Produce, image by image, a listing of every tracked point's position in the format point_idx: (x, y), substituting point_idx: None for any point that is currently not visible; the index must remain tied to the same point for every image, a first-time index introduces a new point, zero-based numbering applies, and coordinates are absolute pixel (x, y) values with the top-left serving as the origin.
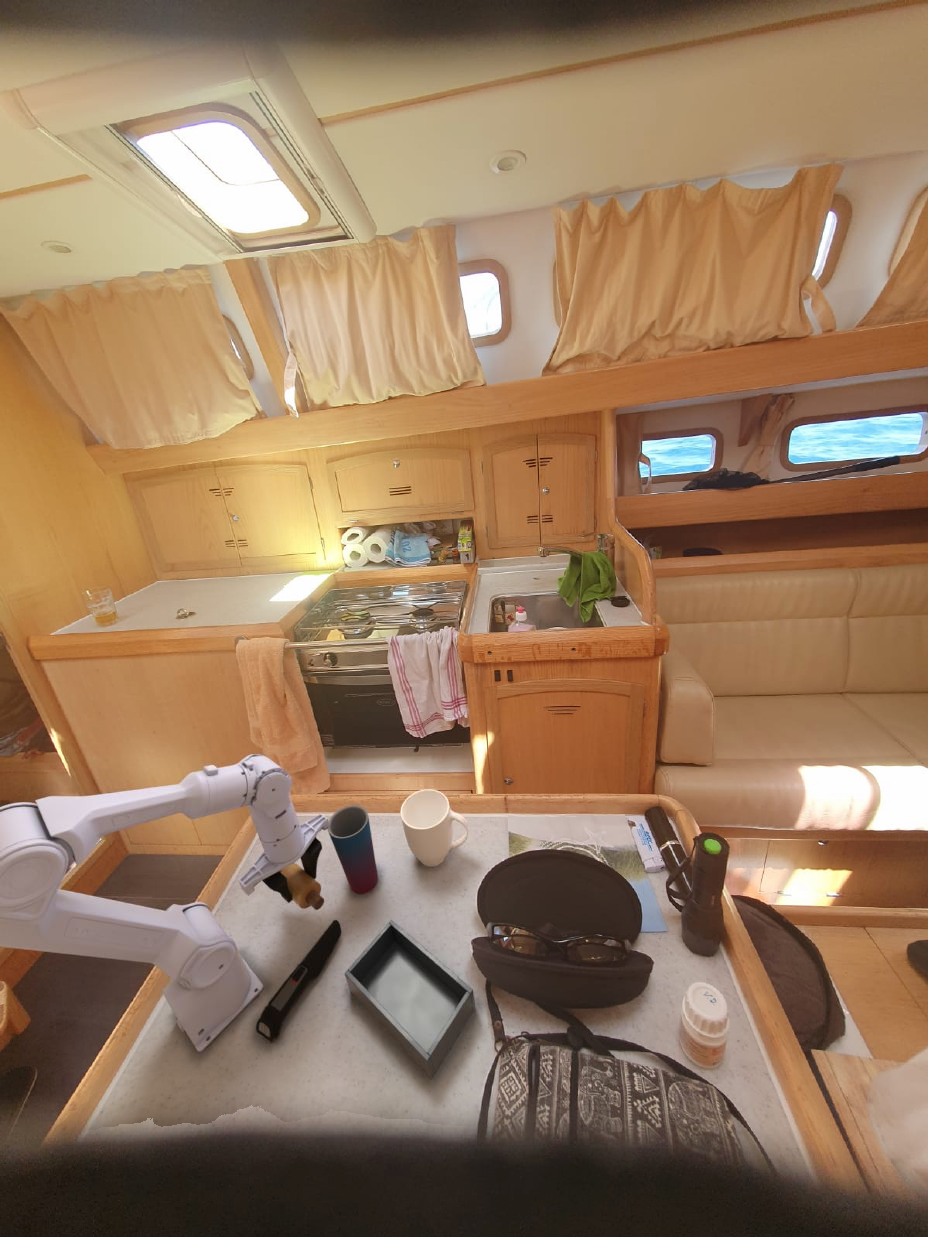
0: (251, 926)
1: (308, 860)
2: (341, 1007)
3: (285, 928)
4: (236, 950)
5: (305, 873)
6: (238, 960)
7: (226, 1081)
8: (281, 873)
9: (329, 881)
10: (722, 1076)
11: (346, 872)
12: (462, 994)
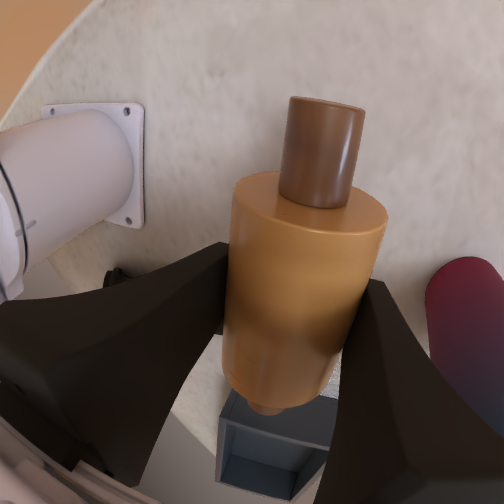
0: (206, 56)
1: (330, 465)
2: (215, 368)
3: (256, 160)
4: (40, 250)
5: (330, 346)
6: (55, 247)
7: (71, 265)
8: (125, 466)
9: (441, 189)
10: None
11: (435, 360)
12: (296, 483)
